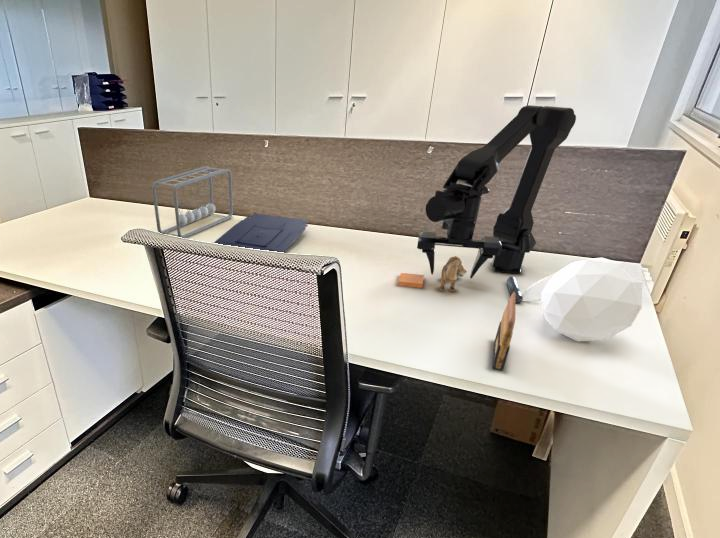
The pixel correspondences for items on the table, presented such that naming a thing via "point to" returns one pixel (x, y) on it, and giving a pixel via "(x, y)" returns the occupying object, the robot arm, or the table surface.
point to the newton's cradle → (195, 213)
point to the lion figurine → (452, 272)
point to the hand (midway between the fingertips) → (451, 275)
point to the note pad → (411, 280)
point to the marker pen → (514, 289)
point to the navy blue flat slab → (264, 232)
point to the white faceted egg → (589, 299)
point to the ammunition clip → (504, 335)
